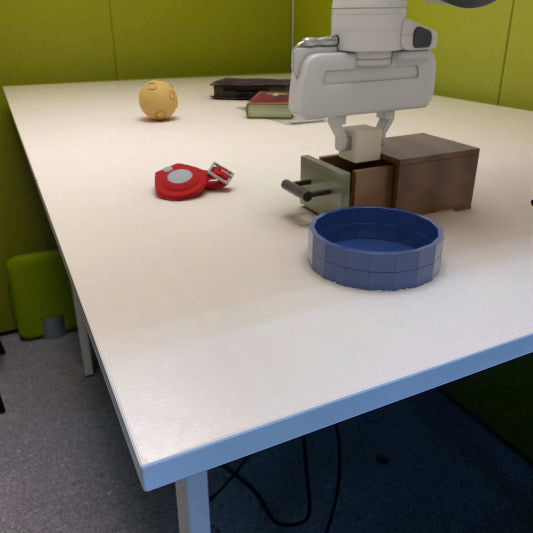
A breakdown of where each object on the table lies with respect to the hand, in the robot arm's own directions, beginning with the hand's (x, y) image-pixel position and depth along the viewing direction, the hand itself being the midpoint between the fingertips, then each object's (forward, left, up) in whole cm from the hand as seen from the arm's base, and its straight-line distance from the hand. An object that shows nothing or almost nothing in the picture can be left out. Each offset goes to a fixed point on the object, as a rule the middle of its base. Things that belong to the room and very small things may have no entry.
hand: (360, 147), depth 73 cm
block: (0, 0, -1) cm, 1 cm away
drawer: (+2, 0, -8) cm, 9 cm away
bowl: (+8, +15, -9) cm, 19 cm away
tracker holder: (+17, -20, -9) cm, 28 cm away
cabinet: (-9, 0, -9) cm, 13 cm away
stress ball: (+4, -83, -9) cm, 84 cm away
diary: (-35, -108, -9) cm, 114 cm away
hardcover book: (-27, -79, -9) cm, 84 cm away
